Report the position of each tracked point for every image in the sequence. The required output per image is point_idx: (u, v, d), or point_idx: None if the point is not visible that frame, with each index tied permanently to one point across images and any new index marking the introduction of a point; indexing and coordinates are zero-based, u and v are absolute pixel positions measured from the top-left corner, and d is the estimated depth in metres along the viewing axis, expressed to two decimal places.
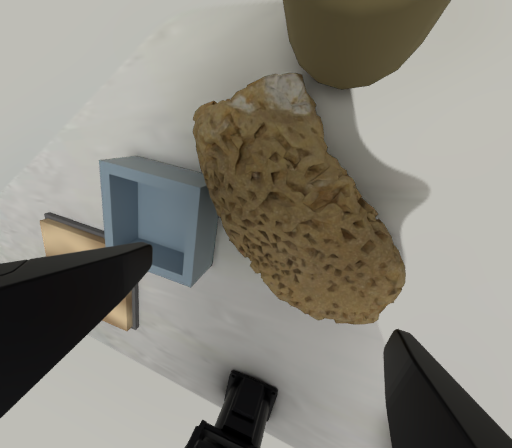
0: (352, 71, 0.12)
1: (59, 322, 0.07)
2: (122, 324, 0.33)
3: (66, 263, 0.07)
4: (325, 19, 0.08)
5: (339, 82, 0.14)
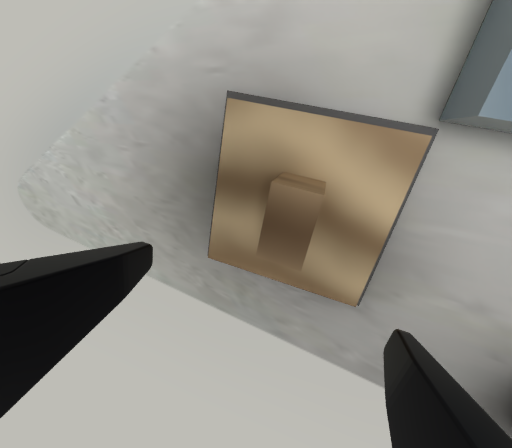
0: None
1: (59, 322, 0.07)
2: (350, 294, 0.19)
3: (66, 263, 0.07)
4: None
5: None
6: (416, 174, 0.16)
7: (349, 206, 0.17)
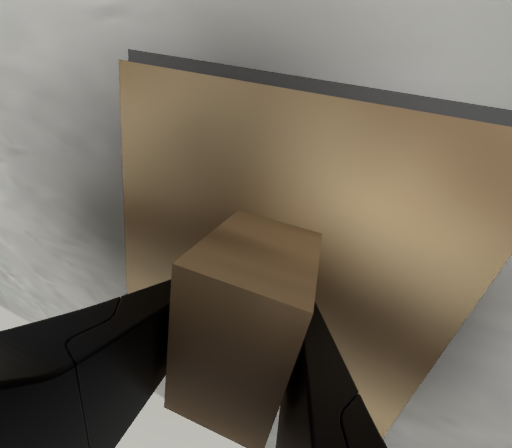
0: None
1: (151, 364, 0.06)
2: None
3: (158, 299, 0.06)
4: None
5: None
6: None
7: (369, 283, 0.08)
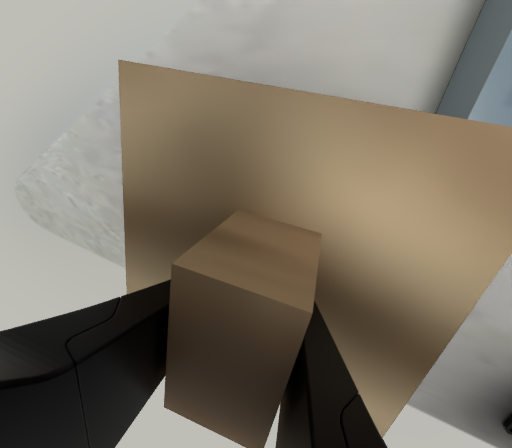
0: None
1: (151, 364, 0.06)
2: None
3: (158, 299, 0.06)
4: None
5: None
6: None
7: (369, 283, 0.08)
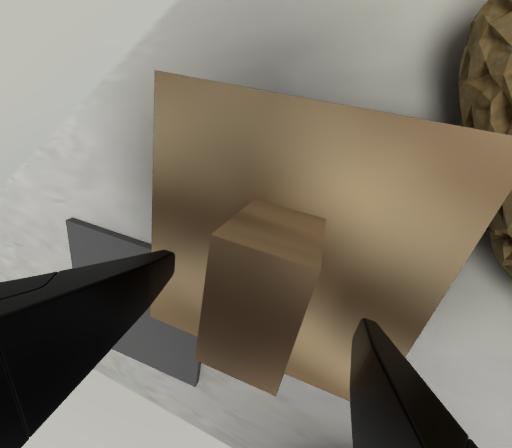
0: None
1: (89, 336, 0.06)
2: None
3: (96, 275, 0.06)
4: None
5: None
6: None
7: (366, 261, 0.10)
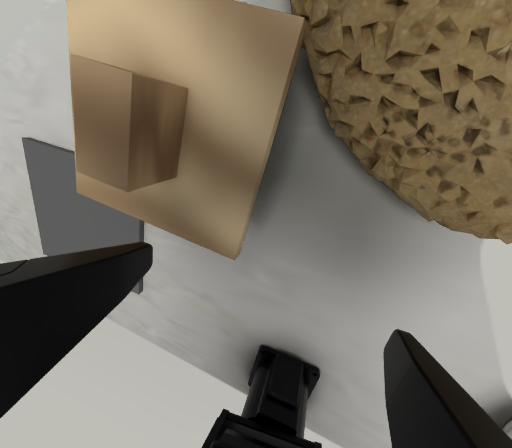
0: None
1: (59, 322, 0.07)
2: (227, 244, 0.16)
3: (66, 263, 0.07)
4: None
5: None
6: None
7: (217, 124, 0.13)
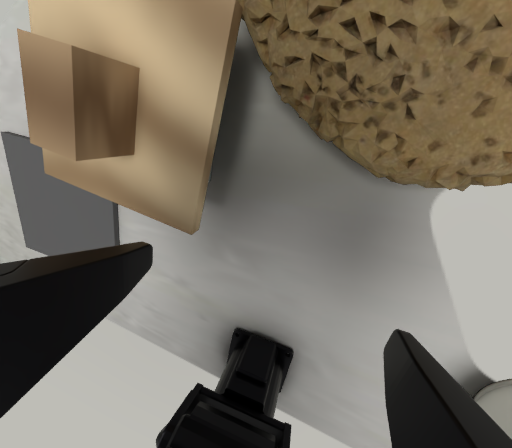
0: None
1: (59, 322, 0.07)
2: (184, 219, 0.16)
3: (66, 263, 0.07)
4: None
5: None
6: None
7: (167, 101, 0.14)
